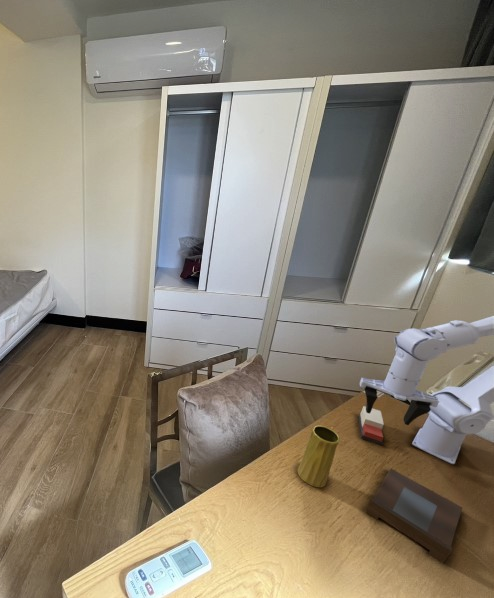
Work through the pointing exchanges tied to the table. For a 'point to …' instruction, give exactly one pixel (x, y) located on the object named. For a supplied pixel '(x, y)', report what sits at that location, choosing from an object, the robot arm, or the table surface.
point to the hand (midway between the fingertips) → (386, 416)
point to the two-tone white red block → (371, 425)
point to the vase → (318, 456)
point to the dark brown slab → (417, 513)
